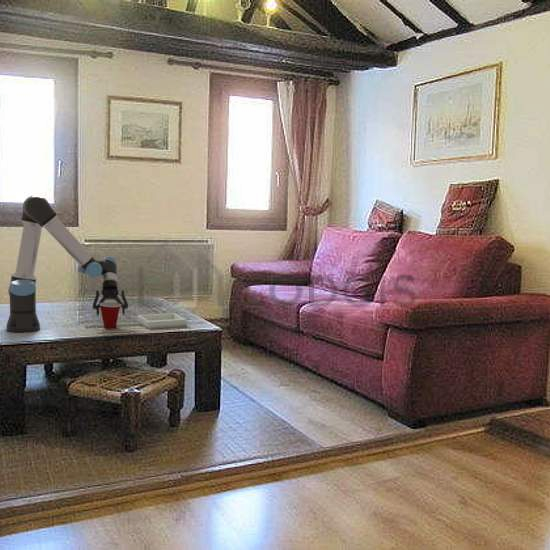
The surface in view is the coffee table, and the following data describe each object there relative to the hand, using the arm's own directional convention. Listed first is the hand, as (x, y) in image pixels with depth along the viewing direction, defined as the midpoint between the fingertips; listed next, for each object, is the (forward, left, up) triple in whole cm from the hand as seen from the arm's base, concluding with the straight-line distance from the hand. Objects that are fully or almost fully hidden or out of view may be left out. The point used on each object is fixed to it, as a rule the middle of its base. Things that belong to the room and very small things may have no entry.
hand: (110, 319), depth 318 cm
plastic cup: (+1, +3, -5) cm, 6 cm away
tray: (+27, +3, -5) cm, 27 cm away
